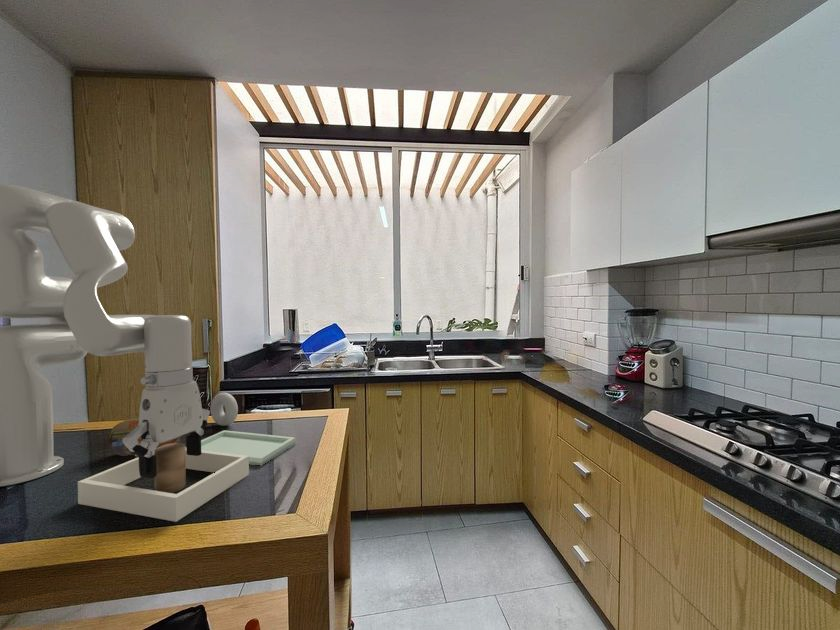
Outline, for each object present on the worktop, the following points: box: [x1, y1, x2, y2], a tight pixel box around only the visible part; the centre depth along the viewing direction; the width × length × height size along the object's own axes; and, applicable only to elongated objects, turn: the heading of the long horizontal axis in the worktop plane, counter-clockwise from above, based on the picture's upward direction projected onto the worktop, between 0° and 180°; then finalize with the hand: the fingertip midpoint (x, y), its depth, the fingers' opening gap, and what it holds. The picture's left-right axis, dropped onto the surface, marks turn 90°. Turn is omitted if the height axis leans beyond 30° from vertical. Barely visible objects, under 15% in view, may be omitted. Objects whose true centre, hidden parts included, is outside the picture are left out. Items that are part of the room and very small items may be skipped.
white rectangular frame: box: [77, 448, 250, 523], centre depth 69 cm, size 22×17×4 cm
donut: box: [209, 392, 239, 427], centre depth 106 cm, size 10×4×10 cm, turn 65°
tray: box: [185, 429, 296, 467], centre depth 88 cm, size 22×13×2 cm, turn 76°
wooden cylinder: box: [153, 442, 187, 494], centre depth 69 cm, size 5×5×8 cm
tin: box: [106, 417, 183, 457], centre depth 87 cm, size 15×3×8 cm, turn 114°
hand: (172, 465), depth 69 cm, fingers open, 9 cm apart
